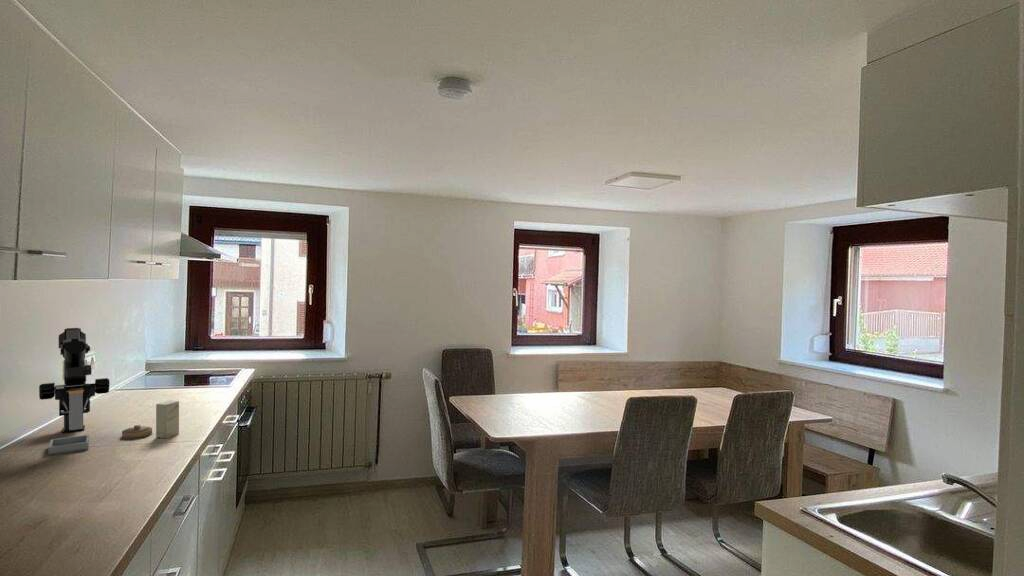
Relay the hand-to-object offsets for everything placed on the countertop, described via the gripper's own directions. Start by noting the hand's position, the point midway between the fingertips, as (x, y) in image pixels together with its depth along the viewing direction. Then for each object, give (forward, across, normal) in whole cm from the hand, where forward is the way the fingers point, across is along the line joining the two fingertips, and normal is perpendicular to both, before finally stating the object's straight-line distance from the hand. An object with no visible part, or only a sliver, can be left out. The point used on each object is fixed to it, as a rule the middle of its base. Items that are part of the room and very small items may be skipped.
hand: (75, 409), depth 185 cm
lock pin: (+4, 0, +6) cm, 7 cm away
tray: (+8, -2, +11) cm, 14 cm away
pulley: (+5, +18, +14) cm, 23 cm away
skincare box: (+10, +26, +9) cm, 29 cm away
